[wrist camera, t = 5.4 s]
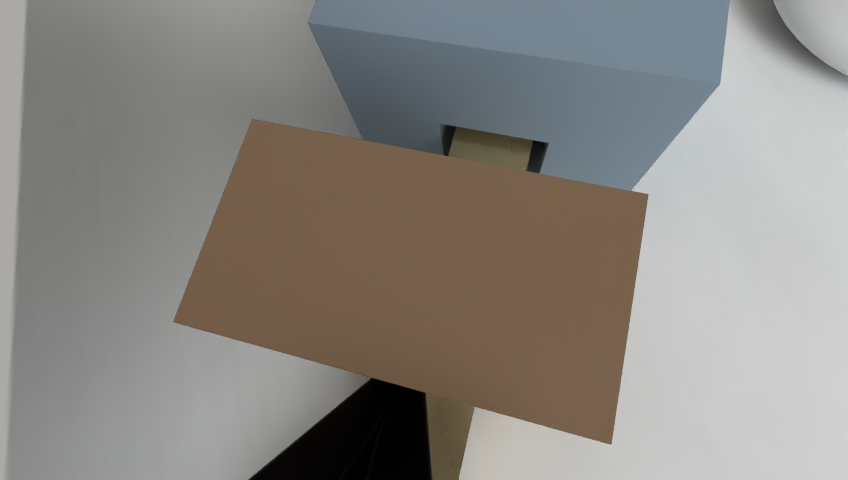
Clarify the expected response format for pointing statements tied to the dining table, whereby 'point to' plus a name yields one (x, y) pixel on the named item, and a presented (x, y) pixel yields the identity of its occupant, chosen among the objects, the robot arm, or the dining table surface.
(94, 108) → the dining table surface
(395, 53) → the blue-grey rectangular block
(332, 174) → the upright wooden plank
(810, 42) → the flower in vase
